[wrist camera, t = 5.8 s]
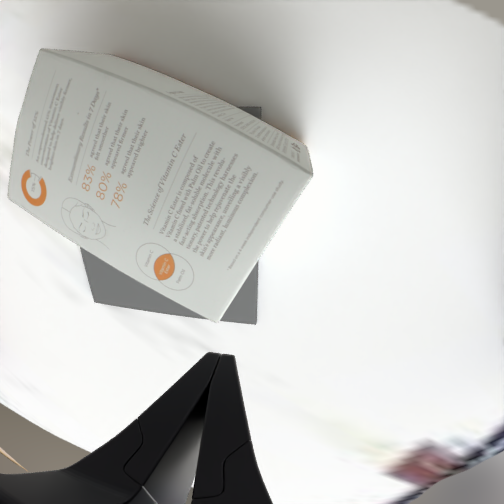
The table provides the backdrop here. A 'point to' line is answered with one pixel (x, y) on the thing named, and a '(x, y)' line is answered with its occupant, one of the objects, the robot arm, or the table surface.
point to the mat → (144, 298)
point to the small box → (153, 175)
